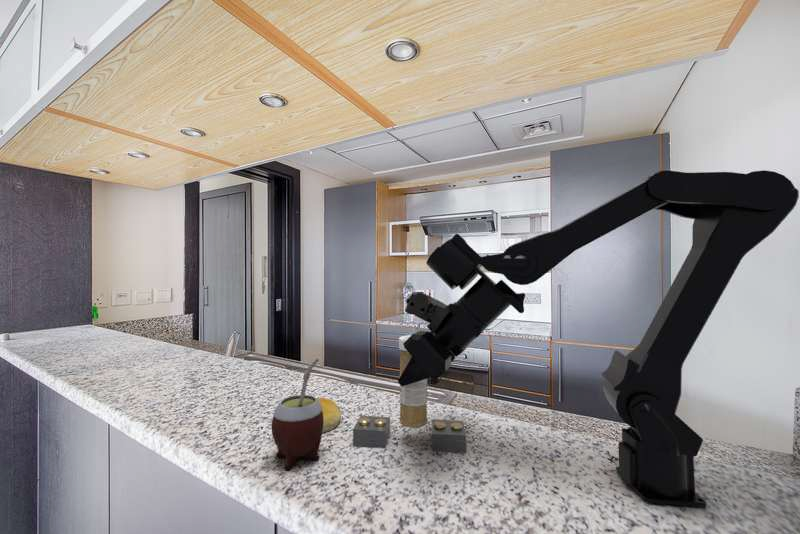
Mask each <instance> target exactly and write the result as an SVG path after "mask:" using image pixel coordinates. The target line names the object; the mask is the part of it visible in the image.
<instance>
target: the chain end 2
mask: <svg viewBox="0 0 800 534" xmlns="http://www.w3.org/2000/svg"><path fill="white" fill-rule="evenodd" d="M431 421H432V422H431V451H432V452H443V453H444V452H446V453H462V454H463V453H465V454H467V434H466V429H465V428H466V427H465V422H464V421H463V420H452V419H435V418H434V419H432V420H431Z"/></svg>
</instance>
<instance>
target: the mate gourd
mask: <svg viewBox="0 0 800 534" xmlns="http://www.w3.org/2000/svg"><path fill="white" fill-rule="evenodd" d="M319 361H320V359H319V358H317V359H315V360H314V361H312V362H311V363H310V364H309V366H308V367H307V369H306V370H305V371H304V373H303V377H302V378H303V381H302V386H301V391H300V394H299V395H291V396H289V397H286V398H284V399H282V400H280V402H278V404H277V406H275V410H274V412H273V415H272V416H273V417H272V420H271V434H272V439H273V441H274V443H275V446H276V447H277V453H276V454H275V458H276V459H281V460H286V465H285V466H284V471H285V472H291V470H293V469H294V467H295V466H296V465H297V463H298V462H301V461H303V462H319V460H320V455H318V454H319V453H318V452H319V448H320V446H321V443H322V442H321V441H322V434H323V433H322V430H323V423H324V420H323V411H322V405H321V404H320V402H319V401H318V399H316V398H317V397H315V396H312V395H310V394H306V391H307V385H308V382H309V379H310V376H311V371H312V370H313V368H314V367H315V365H316V364H317V363H318V362H319ZM305 394H306V395H305Z"/></svg>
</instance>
